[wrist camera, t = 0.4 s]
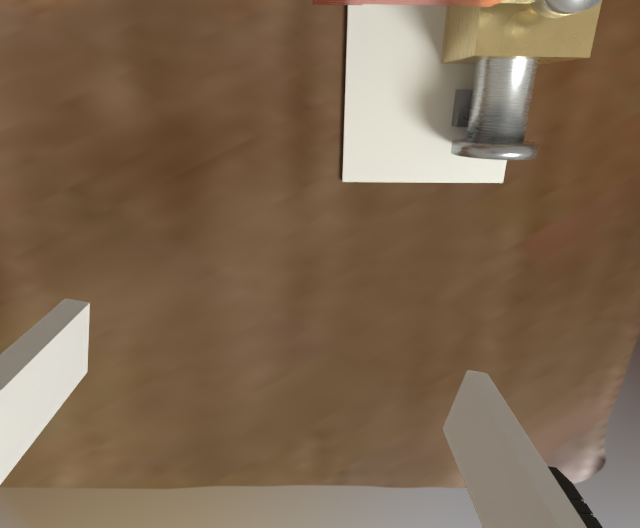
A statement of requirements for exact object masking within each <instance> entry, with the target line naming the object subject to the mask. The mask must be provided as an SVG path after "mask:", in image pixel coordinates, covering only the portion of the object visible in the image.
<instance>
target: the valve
mask: <svg viewBox="0 0 640 528" xmlns="http://www.w3.org/2000/svg"><path fill="white" fill-rule="evenodd" d="M601 3H602V1H601V2H600V3H599V4H597V5H595V6H594V7H592V8H590V9H587V10H584V11H581V12H577V13H574V14H571V15H568V16H564V17H561V18H556V19H551V18H545V17H543V16H541V15H539V14H538V13H537V12H536V11H535V10H534V9H533V8H532V6H531V5H530V3H497V4H495V5H493V6H491V7H477V6H447V11H446V21H445V30H444V40H443V50H442V59H441V64H476V67H475V75H474V83H473V89H457V90H455V99H454V107H453V116H452V124H451V126H453V127H468V128H467V136H466V139H454V140H452V146H451V154H454V155H457V156H463V157H470V158H479V159H493V160H527V159H534V158H536V155H537V150H538V143H534V142H528V141H524V137H525V131H526V125H527V120H528V114H529V108H530V103H531V97H532V92H533V86H534V80H535V75H536V69H537V65H539V64H547V63H554V62H561V61H569V60H576V59H583V58H590V53H591V49H592V44H593V39H594V35H595V30H596V26H597V21H598V16H599V12H600V7H601Z"/></svg>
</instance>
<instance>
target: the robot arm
mask: <svg viewBox="0 0 640 528" xmlns="http://www.w3.org/2000/svg"><path fill="white" fill-rule="evenodd" d="M89 310H90V303H89V302H83V301H77V300H72V299H66V298H65V299H64V300H63V301H62V302H60V303H59V304H58V305H57V306H56V307H55V308H54V309H52V310H51V311H50V312H49V313H48V314H47V315H45V316H44V317H43V318H42V319H41V320H40V321H39V322H37V323H36V324H35V325H34V326H33V327H32V328H30V329H29V330H28V331H27V332H26V333H25V334H24V335H22V336H21V337H20V338H19V339H18V340H17V341H15V342H14V343H13V344H12V345H11V346H10V347H9V348H7V349H6V350H5V351H4V352H3V353H2V354H1V355H0V484H1V483H2V482H3V481H4V479H5V478H6V477H7V475H8V474H9V473H10V472H11V470H12V469H13V468H14V466H15V465H16V464H17V462H18V461H19V460H20V459H21V457H22V456H23V455H24V453H25V452H26V451H27V449H28V448H29V447H30V446H31V444H32V443H33V442H34V440H35V439H36V438H37V437H38V435H39V434H40V433H41V431H42V430H43V429H44V427H45V426H46V425H47V424H48V422H49V421H50V420H51V418H52V417H53V416H54V415H55V413H56V412H57V411H58V409H59V408H60V407H61V405H62V404H63V403H64V402H65V400H66V399H67V398H68V396H69V395H70V394H71V392H72V391H73V390H74V389H75V387H76V386H77V385H78V383H79V382H80V381H81V380H82V378H83V377H84V376H85V374H86V373H87V367H88V338H89ZM443 431H444V434H445V436H446V439H447V441H448V443H449V446H450V448H451V451H452V453H453V456H454V458H455V461H456V463H457V466H458V468H459V470H460V473H461V475H462V478H463V480H464V483H465V485H466V488H467V490H468V492H469V495H470V497H471V500H472V502H473V505H474V507H475V509H476V512H477V514H478V517H479V519H480V522H481V524H482V527H483V528H602V526H601V525H600V523H599V522H598V520H597V519H596V518H595V517H593V513H592V512H591V510H590V509H589V507H588V506H587V504H586V503H584V500H583V498H582V497H581V495H580V494H579V493H578V491H577V489H576V488H575V486H574V485H573V484H572V482H570V481H569V480H568V479H567V478H566V477H565V476H564V475H563V474H562V473H561V472H560V471H559V470H558V469H557V468H555V467H548V466H547V465H546V464H545V462H544V460H543V459H542V457H541V456H540V454H539V453H538V451H537V450H536V448H535V447H534V445H533V443H532V442H531V440H530V439H529V437H528V436H527V434H526V433H525V431H524V430H523V428H522V426H521V425H520V423H519V422H518V420H517V419H516V417H515V416H514V414H513V413H512V411H511V409H510V408H509V406H508V405H507V403H506V402H505V400H504V399H503V397H502V396H501V394H500V392H499V391H498V389H497V388H496V386H495V385H494V383H493V382H492V380H491V379H490V377H489V375H488V374H487V373H482V372H477V371H471V370H467V372H466V374H465V377H464V379H463V381H462V384H461V386H460V388H459V391H458V393H457V396H456V398H455V400H454V403H453V405H452V407H451V410H450V412H449V415H448V417H447V419H446V422H445V424H444V426H443Z"/></svg>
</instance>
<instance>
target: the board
mask: <svg viewBox="0 0 640 528" xmlns="http://www.w3.org/2000/svg"><path fill="white" fill-rule="evenodd" d="M446 11H447V6H430V5H383V4H362V5H348V12H347V44H346V76H345V108H344V140H343V171H342V182H435V183H503V180H504V174H505V168H506V162H507V160H493V159H479V158H470V157H463V156H457V155H454V154H451V146H452V140H454V139H466V136H467V128H468V127H453V126H451V124H452V116H453V107H454V99H455V90H457V89H473V83H474V75H475V67H476V64H441V59H442V50H443V40H444V30H445V21H446Z"/></svg>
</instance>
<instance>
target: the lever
mask: <svg viewBox="0 0 640 528" xmlns="http://www.w3.org/2000/svg"><path fill="white" fill-rule="evenodd" d="M601 1H602V0H313V4H318V5H362V4H383V5H430V6H477V7H491V6H493V5H495V4H497V3H530V5H531V6H532V8H533V9H534V10H535V11H536V12H537V13H538V14H539V15H541V16H543V17H545V18H551V19H556V18H561V17H564V16H568V15H571V14H574V13H577V12H581V11H584V10H587V9H590V8H592V7H594V6H595V5H597V4H599V3H600V2H601Z"/></svg>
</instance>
